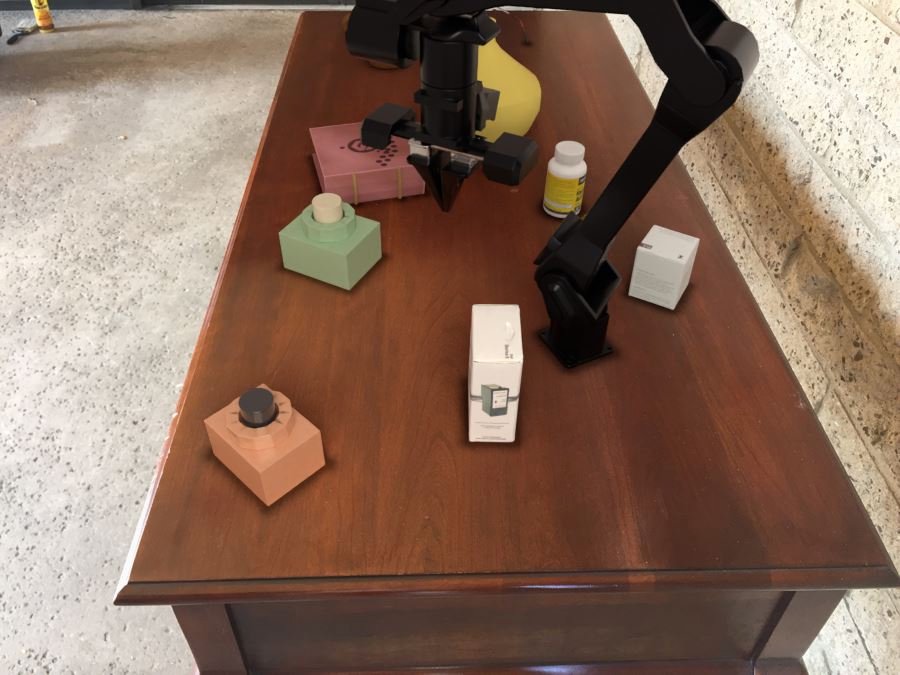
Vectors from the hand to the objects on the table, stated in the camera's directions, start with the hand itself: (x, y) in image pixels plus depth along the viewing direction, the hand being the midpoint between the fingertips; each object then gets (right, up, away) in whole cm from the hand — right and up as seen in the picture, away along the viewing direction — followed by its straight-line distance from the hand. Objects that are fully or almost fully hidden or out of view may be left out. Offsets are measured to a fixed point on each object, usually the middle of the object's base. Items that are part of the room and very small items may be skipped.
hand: (446, 210), depth 88 cm
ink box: (+5, -23, -5) cm, 23 cm away
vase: (+5, +18, +39) cm, 43 cm away
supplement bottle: (+16, +4, +24) cm, 29 cm away
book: (-12, +10, +30) cm, 34 cm away
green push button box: (-15, -5, +14) cm, 21 cm away
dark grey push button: (-18, -22, -15) cm, 32 cm away
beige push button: (-15, +1, +9) cm, 17 cm away
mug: (-14, +38, +61) cm, 73 cm away
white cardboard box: (+27, -9, +11) cm, 30 cm away
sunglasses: (+7, +46, +70) cm, 84 cm away
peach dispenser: (-18, -27, -10) cm, 33 cm away
